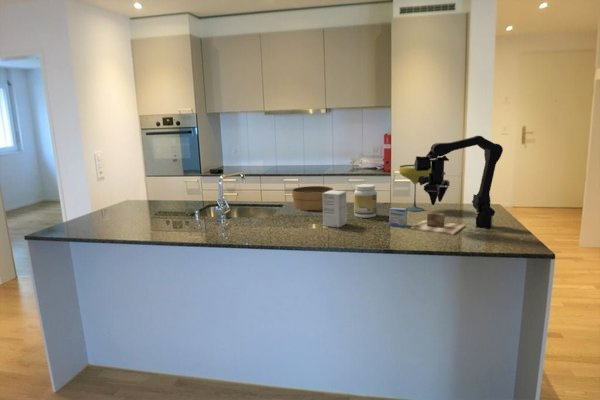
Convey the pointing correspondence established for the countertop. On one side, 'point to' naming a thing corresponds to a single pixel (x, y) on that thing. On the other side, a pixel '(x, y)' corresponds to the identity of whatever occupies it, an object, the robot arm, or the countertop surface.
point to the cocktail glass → (413, 180)
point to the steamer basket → (309, 197)
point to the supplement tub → (365, 201)
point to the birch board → (438, 228)
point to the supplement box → (334, 208)
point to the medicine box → (398, 217)
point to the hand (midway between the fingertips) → (436, 203)
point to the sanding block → (435, 219)
